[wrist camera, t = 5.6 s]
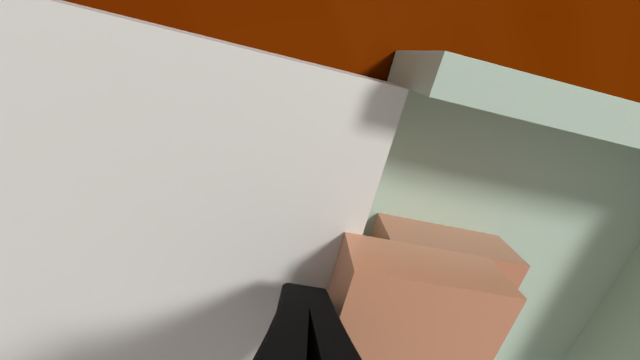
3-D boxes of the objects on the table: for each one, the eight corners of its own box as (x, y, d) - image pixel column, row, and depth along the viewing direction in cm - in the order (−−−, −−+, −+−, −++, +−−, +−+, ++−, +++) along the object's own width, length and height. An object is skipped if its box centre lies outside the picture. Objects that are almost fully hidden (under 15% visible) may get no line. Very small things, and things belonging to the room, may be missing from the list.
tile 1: (452, 331, 15) (473, 371, 13) (343, 315, 14) (350, 355, 12) (497, 235, 13) (530, 265, 11) (377, 212, 13) (391, 241, 11)
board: (299, 375, 16) (299, 430, 14) (-63, 331, 14) (-135, 387, 12) (386, 81, 11) (408, 89, 9) (-144, -51, 9) (-293, -85, 7)
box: (530, 417, 18) (589, 512, 14) (295, 390, 16) (293, 489, 13) (719, 135, 13) (893, 171, 9) (396, 50, 11) (445, 50, 7)
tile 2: (436, 366, 13) (460, 419, 11) (309, 350, 12) (311, 404, 10) (489, 257, 11) (527, 299, 9) (344, 231, 10) (354, 271, 9)
